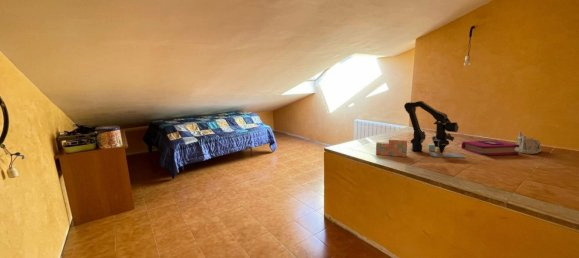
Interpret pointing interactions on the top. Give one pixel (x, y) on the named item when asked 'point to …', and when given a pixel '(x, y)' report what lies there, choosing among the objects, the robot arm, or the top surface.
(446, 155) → the blueprint board
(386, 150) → the stack of blocks
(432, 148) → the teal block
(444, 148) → the maple block
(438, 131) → the robot arm
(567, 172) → the top surface
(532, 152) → the ceramic cottage
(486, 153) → the book
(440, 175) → the top surface
